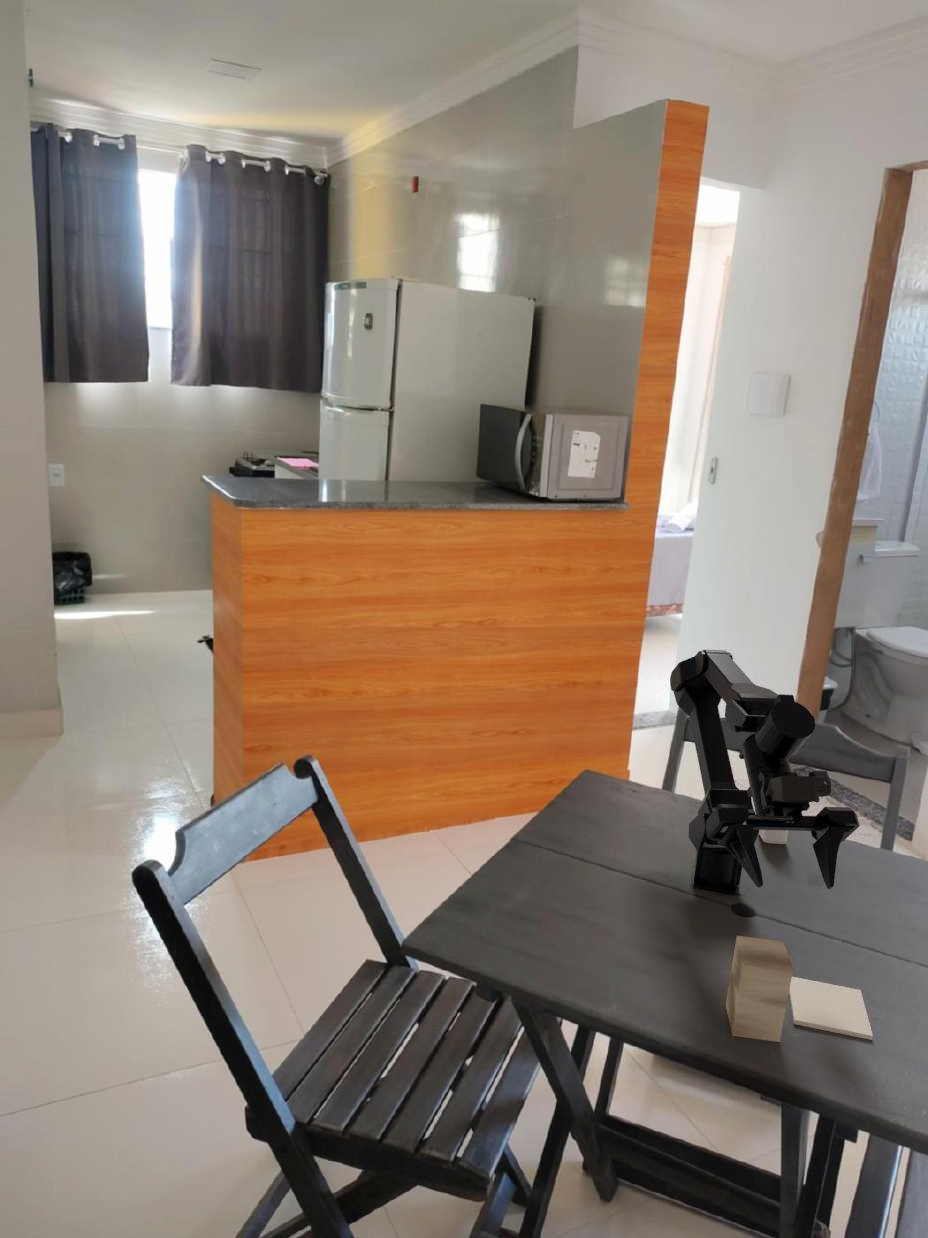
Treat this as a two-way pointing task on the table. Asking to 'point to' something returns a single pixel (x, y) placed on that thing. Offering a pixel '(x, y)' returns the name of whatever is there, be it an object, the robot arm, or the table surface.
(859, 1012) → the cream tile
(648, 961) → the table surface
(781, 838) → the pepper shaker
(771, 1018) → the brass block
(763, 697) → the robot arm
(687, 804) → the table surface
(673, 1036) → the table surface
